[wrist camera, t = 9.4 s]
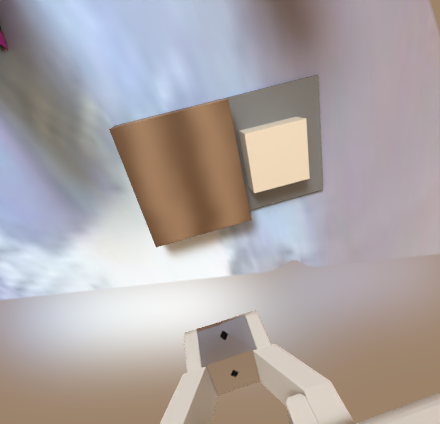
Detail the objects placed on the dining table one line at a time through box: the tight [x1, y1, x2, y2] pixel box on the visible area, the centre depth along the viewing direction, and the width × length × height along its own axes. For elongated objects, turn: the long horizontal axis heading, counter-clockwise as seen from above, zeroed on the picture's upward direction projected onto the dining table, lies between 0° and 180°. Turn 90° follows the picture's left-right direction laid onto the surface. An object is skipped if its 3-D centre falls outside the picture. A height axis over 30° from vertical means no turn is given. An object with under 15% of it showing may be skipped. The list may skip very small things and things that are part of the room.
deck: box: [109, 99, 251, 247], centre depth 30 cm, size 12×14×3 cm
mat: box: [224, 75, 323, 210], centre depth 32 cm, size 11×14×1 cm
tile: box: [239, 117, 310, 193], centre depth 31 cm, size 7×7×2 cm
